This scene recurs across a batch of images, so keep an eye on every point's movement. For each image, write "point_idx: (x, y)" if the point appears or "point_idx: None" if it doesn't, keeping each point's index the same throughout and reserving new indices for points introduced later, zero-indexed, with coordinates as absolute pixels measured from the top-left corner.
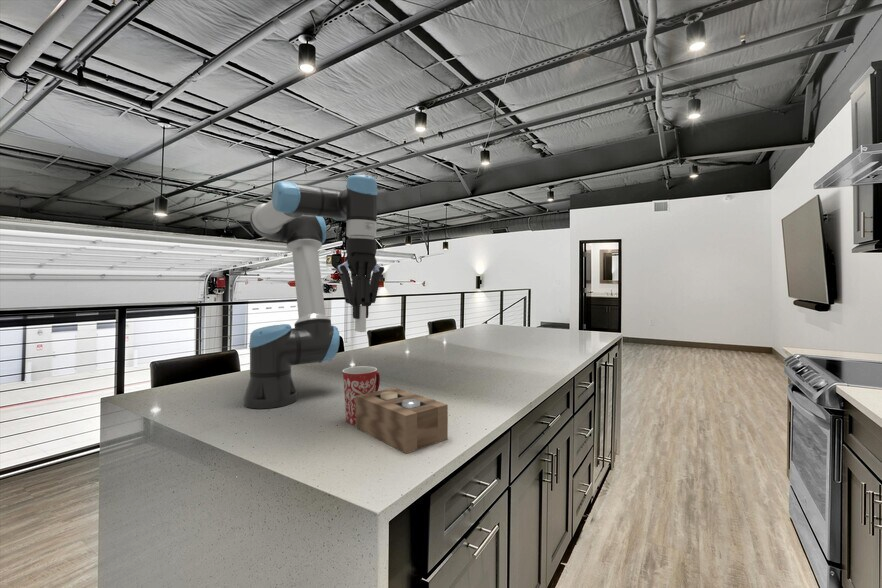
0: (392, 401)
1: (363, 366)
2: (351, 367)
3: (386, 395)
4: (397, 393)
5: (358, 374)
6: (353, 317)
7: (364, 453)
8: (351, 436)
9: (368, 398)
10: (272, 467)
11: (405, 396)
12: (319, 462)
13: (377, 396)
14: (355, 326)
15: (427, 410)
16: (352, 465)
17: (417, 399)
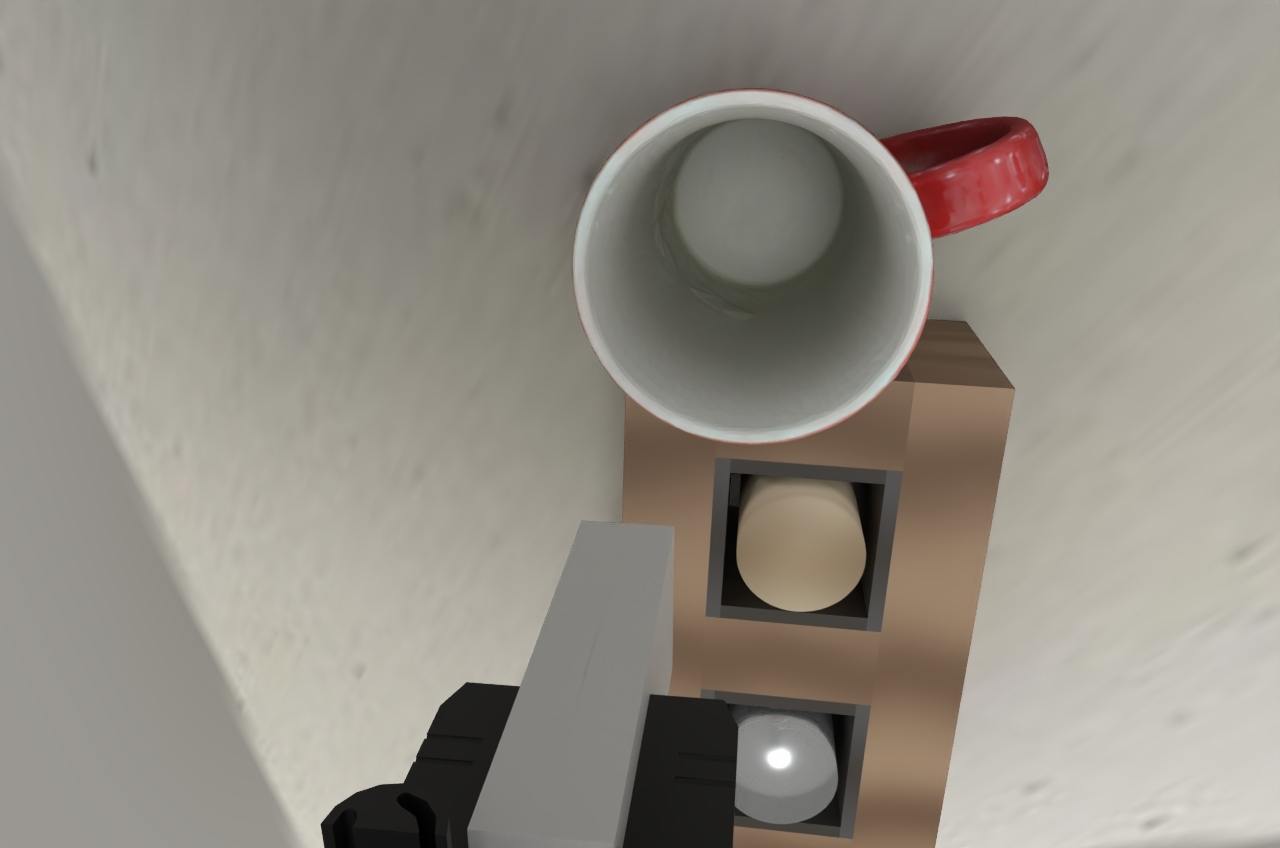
0: (731, 652)
1: (880, 158)
2: (753, 103)
3: (754, 578)
4: (846, 595)
5: (644, 405)
6: (456, 707)
7: (501, 617)
8: (560, 405)
9: (655, 491)
10: (133, 459)
11: (875, 633)
12: (307, 555)
13: (752, 470)
14: (566, 570)
15: None
16: (405, 669)
17: (834, 781)
